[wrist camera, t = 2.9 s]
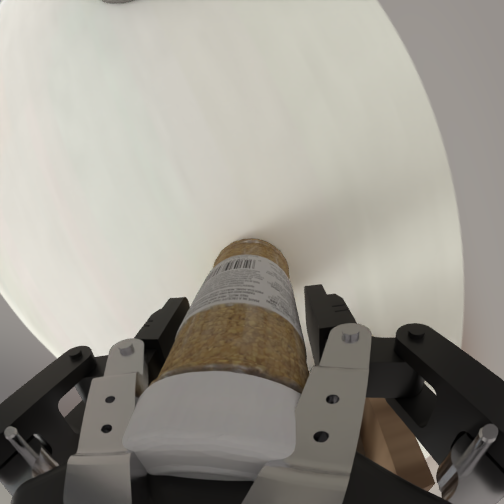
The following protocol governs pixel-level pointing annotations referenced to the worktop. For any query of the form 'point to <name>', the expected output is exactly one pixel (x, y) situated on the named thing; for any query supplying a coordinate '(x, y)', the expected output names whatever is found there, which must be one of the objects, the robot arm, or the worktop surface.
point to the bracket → (392, 444)
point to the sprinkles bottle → (227, 375)
